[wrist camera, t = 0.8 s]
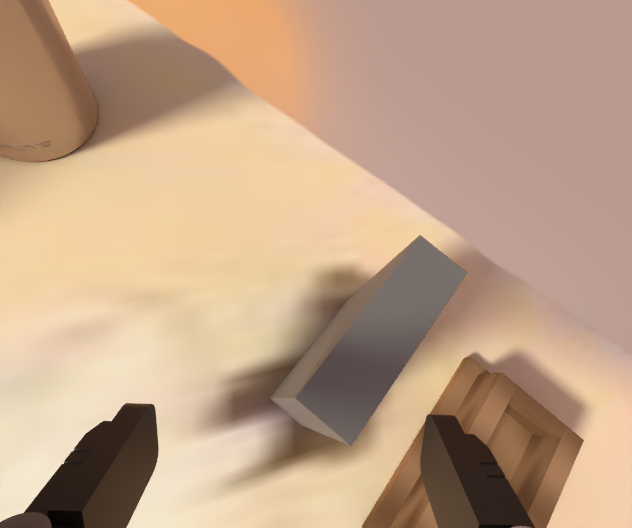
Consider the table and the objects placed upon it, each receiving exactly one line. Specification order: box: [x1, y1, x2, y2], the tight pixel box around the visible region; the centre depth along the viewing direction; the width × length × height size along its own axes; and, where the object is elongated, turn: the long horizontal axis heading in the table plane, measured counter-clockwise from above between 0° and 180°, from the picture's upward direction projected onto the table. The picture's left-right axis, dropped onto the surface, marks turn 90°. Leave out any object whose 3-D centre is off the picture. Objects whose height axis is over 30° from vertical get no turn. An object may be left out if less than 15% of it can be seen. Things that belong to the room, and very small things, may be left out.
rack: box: [362, 357, 584, 528], centre depth 28 cm, size 15×10×4 cm, turn 141°
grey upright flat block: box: [270, 235, 467, 446], centre depth 25 cm, size 10×3×14 cm, turn 141°
